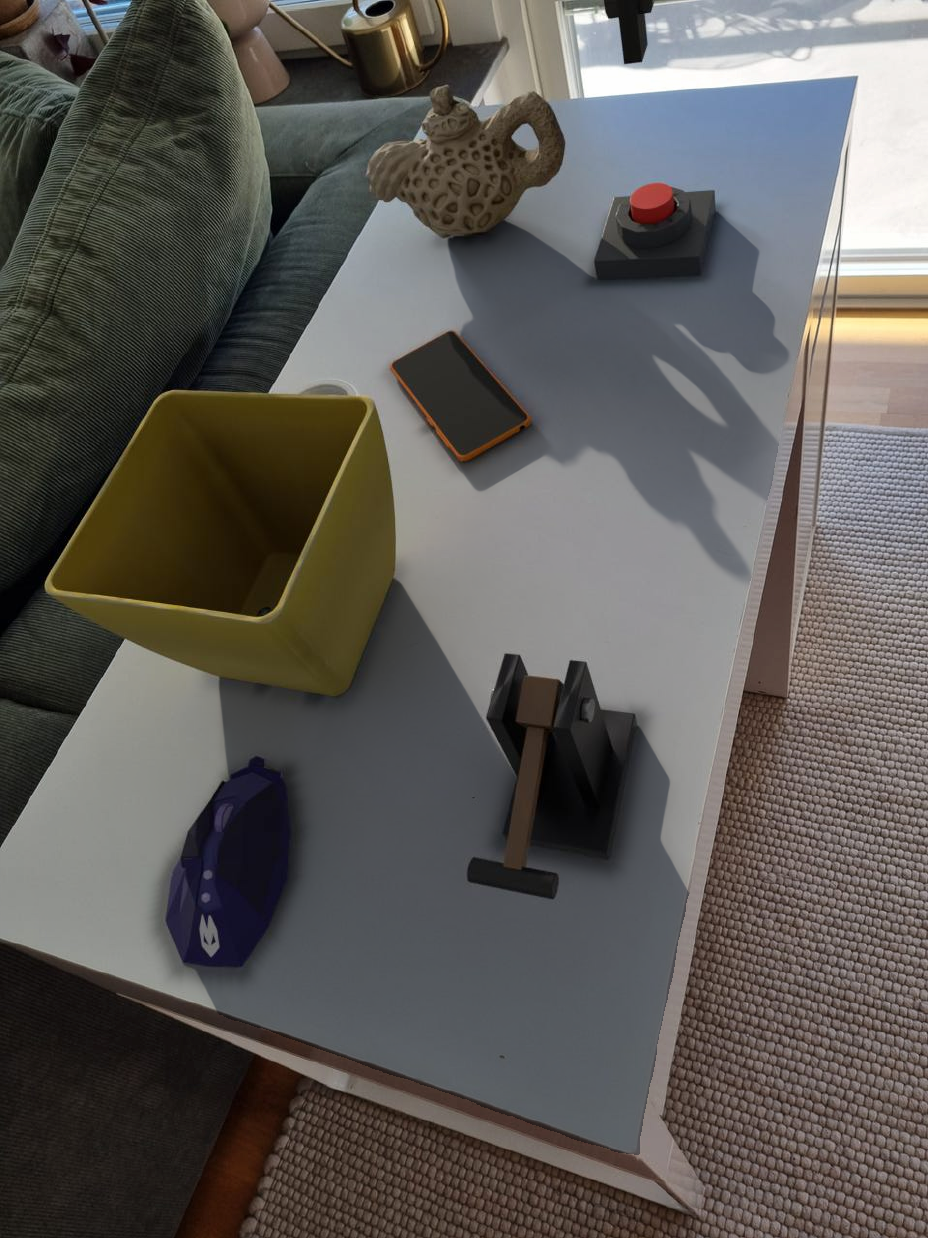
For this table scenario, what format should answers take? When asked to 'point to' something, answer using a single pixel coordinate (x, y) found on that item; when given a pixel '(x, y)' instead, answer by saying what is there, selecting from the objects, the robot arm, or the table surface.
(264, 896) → the computer mouse
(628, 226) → the control block
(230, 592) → the flower pot
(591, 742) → the switch bracket
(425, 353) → the smartphone
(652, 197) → the power button
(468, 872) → the switch lever
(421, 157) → the teapot
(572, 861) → the table surface
